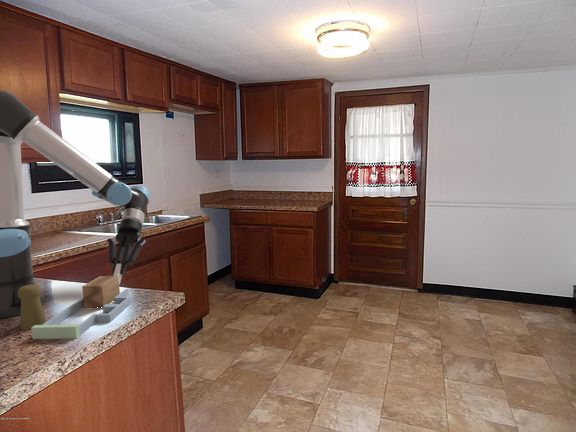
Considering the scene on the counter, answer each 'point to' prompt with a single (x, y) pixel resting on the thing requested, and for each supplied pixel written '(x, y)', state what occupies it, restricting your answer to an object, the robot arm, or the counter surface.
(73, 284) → the counter surface
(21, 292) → the cork
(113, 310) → the trap lane
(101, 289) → the walnut block
